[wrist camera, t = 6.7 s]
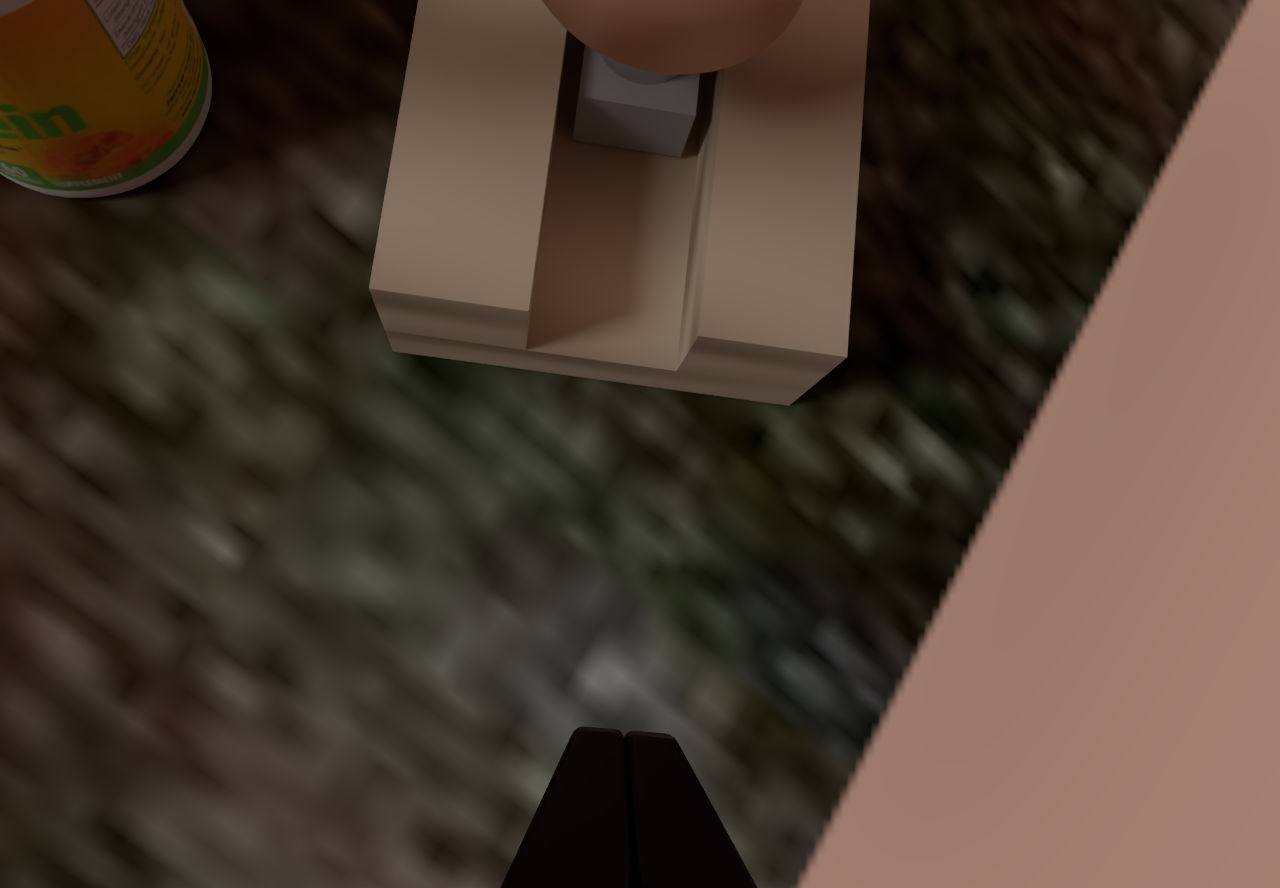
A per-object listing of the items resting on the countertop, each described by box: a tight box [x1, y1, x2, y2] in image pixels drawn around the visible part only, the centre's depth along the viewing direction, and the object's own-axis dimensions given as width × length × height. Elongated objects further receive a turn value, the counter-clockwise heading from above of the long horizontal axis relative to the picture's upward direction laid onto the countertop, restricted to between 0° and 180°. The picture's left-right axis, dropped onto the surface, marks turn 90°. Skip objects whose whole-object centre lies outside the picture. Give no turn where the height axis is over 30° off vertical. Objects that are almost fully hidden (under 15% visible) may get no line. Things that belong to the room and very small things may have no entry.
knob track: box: [369, 0, 870, 406], centre depth 21 cm, size 9×9×4 cm
